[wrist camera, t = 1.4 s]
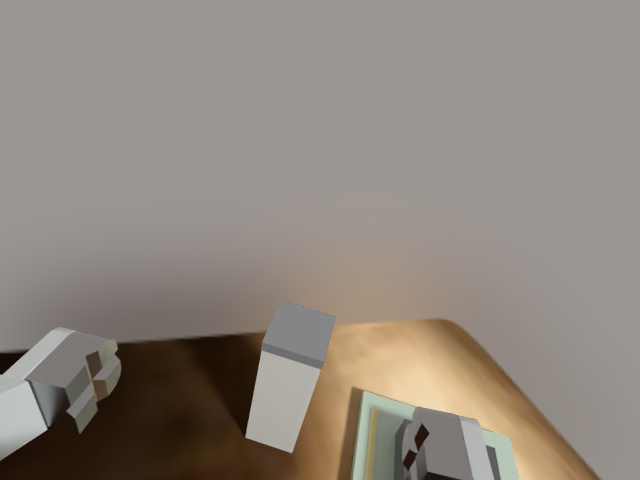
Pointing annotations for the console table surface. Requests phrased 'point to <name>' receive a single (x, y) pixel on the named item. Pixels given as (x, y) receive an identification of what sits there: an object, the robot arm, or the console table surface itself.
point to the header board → (387, 437)
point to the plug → (288, 373)
